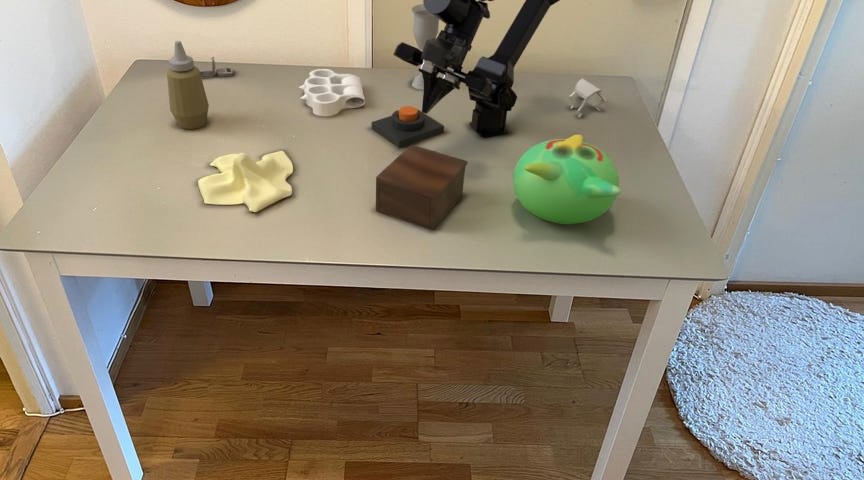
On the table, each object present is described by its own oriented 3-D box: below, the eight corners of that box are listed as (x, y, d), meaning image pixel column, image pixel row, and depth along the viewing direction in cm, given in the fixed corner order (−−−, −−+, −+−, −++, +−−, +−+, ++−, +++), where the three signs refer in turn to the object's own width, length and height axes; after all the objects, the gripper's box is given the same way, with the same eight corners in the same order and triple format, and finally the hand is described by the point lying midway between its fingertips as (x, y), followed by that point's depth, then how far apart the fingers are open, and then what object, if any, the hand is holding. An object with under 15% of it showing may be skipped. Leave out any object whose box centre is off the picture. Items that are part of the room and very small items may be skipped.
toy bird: (607, 197, 129) (627, 127, 120) (609, 251, 116) (631, 177, 107) (512, 183, 132) (523, 114, 122) (503, 234, 119) (515, 162, 110)
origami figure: (610, 117, 154) (615, 97, 151) (574, 119, 153) (579, 98, 150) (590, 93, 163) (594, 74, 160) (556, 95, 162) (560, 75, 159)
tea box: (407, 178, 133) (409, 149, 128) (462, 196, 128) (465, 166, 124) (375, 210, 124) (375, 180, 120) (432, 230, 120) (435, 200, 116)
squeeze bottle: (184, 136, 144) (169, 53, 132) (166, 122, 148) (149, 40, 137) (218, 124, 148) (206, 43, 136) (199, 111, 152) (186, 31, 141)
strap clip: (232, 71, 169) (230, 54, 166) (233, 76, 167) (231, 59, 164) (197, 74, 167) (194, 57, 164) (197, 79, 165) (195, 62, 162)
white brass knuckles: (366, 115, 152) (300, 118, 151) (358, 80, 166) (297, 82, 164) (366, 101, 150) (299, 104, 149) (358, 67, 164) (297, 69, 162)
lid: (411, 148, 129) (411, 144, 129) (467, 164, 125) (467, 160, 124) (375, 180, 120) (375, 176, 119) (435, 199, 116) (435, 196, 115)
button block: (415, 114, 153) (416, 100, 151) (443, 132, 147) (445, 118, 145) (371, 129, 148) (371, 114, 145) (399, 148, 141) (399, 133, 139)
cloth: (281, 217, 122) (278, 188, 118) (181, 206, 124) (175, 177, 120) (310, 154, 139) (309, 127, 135) (223, 145, 141) (219, 118, 137)
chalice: (409, 77, 168) (413, 3, 156) (437, 79, 167) (443, 5, 156) (406, 90, 162) (409, 14, 151) (434, 92, 162) (440, 16, 150)
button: (409, 111, 147) (410, 104, 146) (421, 119, 145) (421, 111, 144) (394, 116, 146) (395, 109, 144) (406, 124, 143) (406, 116, 142)
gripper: (401, 3, 120) (366, 87, 124) (495, 41, 115) (456, 128, 119) (420, 19, 131) (387, 96, 134) (508, 54, 125) (471, 134, 129)
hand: (424, 112), depth 129 cm, fingers closed
